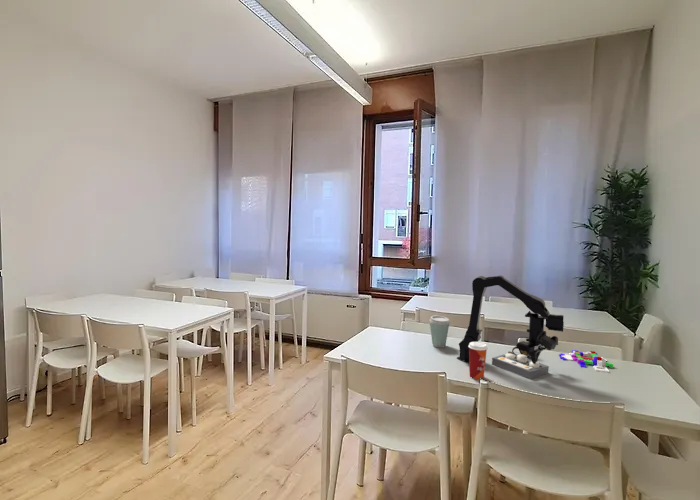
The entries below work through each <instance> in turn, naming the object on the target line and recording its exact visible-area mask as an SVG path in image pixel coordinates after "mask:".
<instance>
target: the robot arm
mask: <svg viewBox="0 0 700 500" xmlns="http://www.w3.org/2000/svg"><path fill="white" fill-rule="evenodd" d="M471 284H472V285H471V286H472V289H471V291H472V294H473V295H472V297H473V298H472V304H471V308H470V309H471V310H470V318H469V323H468V326H467V328H466V332H465V335H464V337H463V339H462V340H461V341H460V342H459V343H458V346H459V356H457V357H456V359H458V360H460V361H463V362H464V363H469V347H468V346H469V343H470V342H480V340H481V338H482V337H481V336H482V332H483V330H482V329H480V328H479V327H480V326H479V324H480V318H481V312H482V311H481V310H482V306H483V298H484V295H485V294H486V293H485V292H486V290H487V288H491V287H494V286H498V287H500V288H502V289H503V290H505V291H506V292H507V293H509V294H510V295H512V296H513V297H515V298H517V299H518V300H520V301H521V302H522V303H523V304H524V305H525V306H526V308H527V309H529V311H528V312H527V313H525V315H524V317H525V318H529V319H528V320H529V321H528V322H529V323H528V328H527V329H526V333H528V337H527V338H526V339H525V340H526V341H525V340H523V341H518V342H517V343H516V346H515V347H516V349H517V350H518V351H519V350H522V351H526V352H528V354H529V356H528V357H529V358H530V360H532V363H534V364H535V363H536V362H538V360H539V357H540V355H541V353H542V352H543V351H544V350H548V351H552V350H555V348H556V347H557V346H558V345H559V338H558V336H556V335H553V336H548V335H547V332H546V330H545V328H546V329H547V330H548V331H553V332H554V331H556V332H561V333H563V332H564V326H565V325H564V324H565V321H564V319H565V318H564V314H553V313H552V314H551V312H550V311H549V310H548V308H547V307H546V303H545V301H544V300H543V299H542V298H540V297H538V296H536V295H533V294H530V293H529V292H526V291H525V290H523V289H522V288H520V287H519V286H518V285H516V284H514V283H513V282H511V281H510V280H508V279H507V278H505V277H504V276H503V275H497V276H496V275H495V276H488V277H487V276H483V275H478V277H476V278H474V279H473V280H472V283H471ZM528 342H529V343H528Z"/></svg>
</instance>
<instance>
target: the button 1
mask: <svg viewBox="0 0 700 500" xmlns="http://www.w3.org/2000/svg"><path fill="white" fill-rule="evenodd" d="M504 355H505V358H508V359H511V360H512V359H515V355H514V354H510V353H508V352H507V353H505V354H504Z"/></svg>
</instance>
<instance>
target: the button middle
mask: <svg viewBox="0 0 700 500" xmlns="http://www.w3.org/2000/svg"><path fill="white" fill-rule="evenodd" d="M527 359H528V357H527V356H526V355H523V354H520V353H519V354H517V362H519V363H522V364H525V363H527Z"/></svg>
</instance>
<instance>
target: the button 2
mask: <svg viewBox="0 0 700 500" xmlns="http://www.w3.org/2000/svg"><path fill="white" fill-rule="evenodd" d="M537 362H538V361H537ZM537 362H536V363H535V364H534V363H532V362H529V366H531V367H533V368H539V365H540V364H539V363H540V362H538V363H537Z"/></svg>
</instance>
